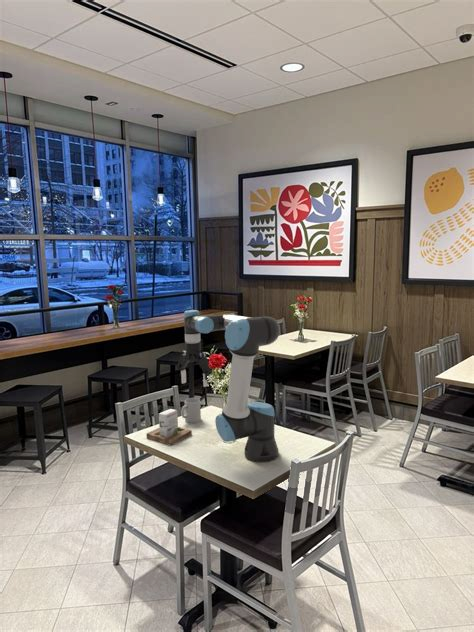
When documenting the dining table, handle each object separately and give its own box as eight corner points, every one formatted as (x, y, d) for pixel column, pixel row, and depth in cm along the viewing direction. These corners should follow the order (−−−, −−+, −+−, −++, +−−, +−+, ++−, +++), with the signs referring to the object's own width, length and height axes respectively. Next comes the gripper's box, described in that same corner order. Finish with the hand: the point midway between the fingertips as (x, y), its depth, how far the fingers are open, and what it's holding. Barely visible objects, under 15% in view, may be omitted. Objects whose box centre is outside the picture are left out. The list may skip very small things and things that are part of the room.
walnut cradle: (191, 434, 226) (191, 430, 225) (170, 445, 214) (170, 440, 213) (168, 427, 235) (168, 423, 235) (146, 437, 223) (146, 433, 223)
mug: (193, 416, 252) (192, 396, 250) (204, 419, 246) (203, 399, 245) (176, 422, 243) (176, 402, 241) (187, 425, 237) (187, 405, 236)
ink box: (171, 430, 229) (170, 408, 228) (178, 432, 226) (177, 409, 225) (159, 436, 222) (158, 413, 221) (166, 438, 219) (165, 415, 218)
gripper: (218, 342, 218) (219, 385, 220) (178, 339, 231) (180, 379, 234) (209, 345, 211) (210, 389, 214) (168, 341, 225) (170, 383, 227)
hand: (194, 384), depth 224 cm, fingers open, 13 cm apart
